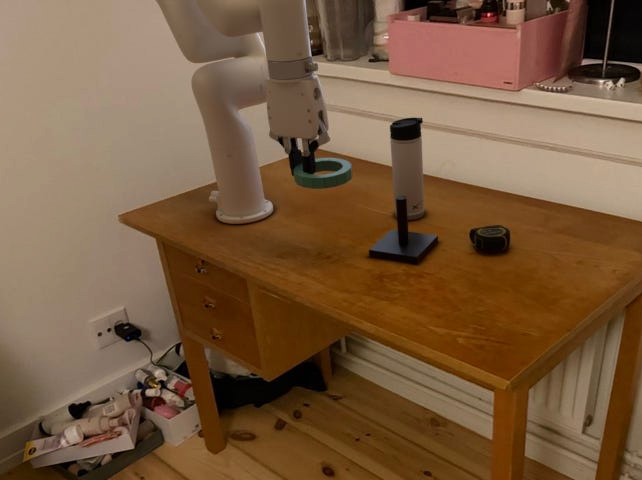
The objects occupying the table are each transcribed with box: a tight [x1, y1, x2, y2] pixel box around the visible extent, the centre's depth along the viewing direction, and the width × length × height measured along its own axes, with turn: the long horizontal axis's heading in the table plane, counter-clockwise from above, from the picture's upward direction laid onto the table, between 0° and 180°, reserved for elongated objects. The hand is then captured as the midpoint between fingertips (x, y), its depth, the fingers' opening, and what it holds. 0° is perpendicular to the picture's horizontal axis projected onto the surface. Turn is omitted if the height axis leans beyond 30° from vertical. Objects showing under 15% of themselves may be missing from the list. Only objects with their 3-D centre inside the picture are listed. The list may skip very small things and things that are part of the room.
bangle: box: [293, 157, 353, 190], centre depth 127 cm, size 10×10×2 cm
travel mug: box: [389, 117, 425, 221], centre depth 144 cm, size 6×7×20 cm
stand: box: [368, 196, 439, 265], centre depth 132 cm, size 10×10×10 cm
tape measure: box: [468, 224, 511, 253], centre depth 132 cm, size 7×7×4 cm
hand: (303, 173), depth 129 cm, fingers closed on bangle, 2 cm apart
